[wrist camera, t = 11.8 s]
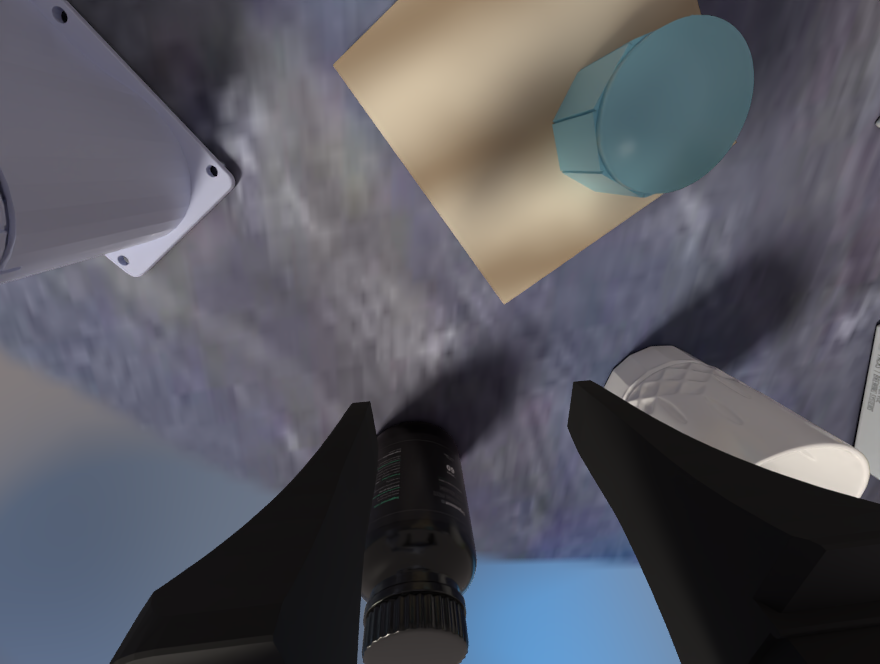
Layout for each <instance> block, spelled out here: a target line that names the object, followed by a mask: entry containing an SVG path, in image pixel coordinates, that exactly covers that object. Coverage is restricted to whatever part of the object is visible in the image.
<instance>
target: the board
mask: <svg viewBox="0 0 880 664" xmlns="http://www.w3.org/2000/svg"><path fill="white" fill-rule="evenodd" d="M691 15H701V12H700V9H699V5H698V1H697V0H398V1H397V2H396V3H395V4H394V5H393V6H392V7H391V8H390V9H389V10H388V11H387V12H386V13H385V14H384V15H383V16H382V17H381V18H380V19H379V20H378V21H377V22H376V23H375V24H374V25H373V26H372V27H371V28H370V29H369V30H368V31H367V32H366V33H365V34H364V35H363V36H362V37H361V38H360V39H358V40H357V41H356V42H355V43H354V44H353V45H352V46H351V47H350V48H349V49H348V50H347V51H346V52H345V53H344V54H343V55H342V56H341V57H340V58H339V59H338V60H337V61H336V62H335V63H334V64H333V66H334V68H335V69H336V70H337V72H338V73H339V74H340V76H341V77H342V79H343V80H344V81H345V83H346V84H347V86H348V87H349V88H350V90H351V91H352V93H353V94H354V95H355V97H356V98H357V100H358V101H359V102H360V104H361V105H362V107H363V108H364V109H365V111H366V112H367V114H368V115H369V116H370V118H371V119H372V121H373V122H374V123H375V125H376V126H377V128H378V129H379V130H380V132H381V133H382V135H383V136H384V137H385V139H386V140H387V142H388V143H389V144H390V146H391V147H392V149H393V150H394V151H395V153H396V154H397V156H398V157H399V158H400V160H401V161H402V163H403V164H404V165H405V167H406V168H407V169H408V171H409V172H410V174H411V175H412V176H413V178H414V179H415V181H416V182H417V183H418V185H419V186H420V188H421V189H422V190H423V192H424V193H425V195H426V196H427V197H428V199H429V200H430V202H431V203H432V204H433V206H434V207H435V209H436V210H437V211H438V213H439V214H440V216H441V217H442V218H443V220H444V221H445V223H446V224H447V225H448V227H449V228H450V230H451V231H452V232H453V234H454V235H455V237H456V238H457V239H458V241H459V242H460V244H461V245H462V246H463V248H464V249H465V251H466V252H467V253H468V255H469V256H470V258H471V259H472V260H473V262H474V263H475V265H476V266H477V267H478V269H479V270H480V271H481V273H482V274H483V276H484V277H485V278H486V280H487V281H488V283H489V284H490V285H491V287H492V288H493V290H494V291H495V292H496V294H497V295H498V297H499V298H500V299H501V301H502V302H503V304H506V303H507V302H509V301H510V300H512V299H513V298H514V297H516V296H517V295H519V294H520V293H522V292H523V291H524V290H526V289H527V288H529V287H530V286H532V285H533V284H534V283H536V282H537V281H539V280H540V279H542V278H543V277H545V276H546V275H547V274H549V273H550V272H552V271H553V270H555V269H556V268H557V267H559V266H560V265H562V264H563V263H565V262H566V261H568V260H569V259H570V258H572V257H573V256H575V255H576V254H578V253H579V252H580V251H582V250H583V249H585V248H586V247H588V246H589V245H590V244H592V243H593V242H595V241H596V240H598V239H599V238H601V237H602V236H603V235H605V234H606V233H608V232H609V231H611V230H612V229H613V228H615V227H616V226H618V225H619V224H621V223H622V222H624V221H625V220H626V219H628V218H629V217H631V216H632V215H634V214H635V213H636V212H638V211H639V210H641V209H642V208H644V207H645V206H646V205H648V204H649V203H651V202H652V201H654V200H655V199H657V198H658V197H659V196H661V195H662V194H664V193H659V194H653V195H651V196H648V197H646V198H640V197H633V196H625V195H618V194H610V193H602V192H595V191H593V190H591V189H589V188H588V187H586V186H584V185H582V184H581V183H579V182H577V181H575V180H574V179H572V178H570V177H568V176H567V175H565V174H563V173H562V171H560V166H559V161H558V155H557V150H556V144H555V138H554V133H553V127H552V124H555V123H554V122H553V120H554V118H555V116H556V114H557V112H558V110H559V108H560V106H561V104H562V102H563V100H564V98H565V96H566V94H567V92H568V90H569V88H570V86H571V84H572V82H573V81H574V79H575V77H576V75H577V73H578V72H579V71H580V70H581V69H583V68H584V67H586V66H588V65H590V64H591V63H593V62H595V61H597V60H598V59H600V58H602V57H604V56H605V55H607V54H609V53H611V52H612V51H614V50H616V49H617V48H619V47H621V46H623V45H624V44H626V43H628V42H630V41H631V40H633V39H636V38H638V37H641V36H643V35H645V34H648V33H650V32H653V31H655V30H657V29H659V28H661V27H663V26H665V25H667V24H669V23H671V22H673V21H675V20H678V19H681V18H683V17H687V16H691ZM735 143H737V142H736V140H735V142H734V143H733V145H734V144H735ZM733 145H732V146H733Z"/></svg>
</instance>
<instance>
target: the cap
mask: <svg viewBox="0 0 880 664" xmlns="http://www.w3.org/2000/svg"><path fill="white" fill-rule="evenodd" d="M753 88H754V68H753V60H752V56H751V53H750V50H749V47H748V45H747V43H746V41H745V39H744V38H743V36H742V35H741V33H740V32H739V31H738V30H737V29H736V28H735V27H734V26H733V25H731V24H730V23H729V22H727V21H726V20H723V19H721V18H718V17H715V16H710V15H691V16H687V17H683V18H681V19H678V20H675V21H673V22H671V23H669V24H667V25H665V26H663V27H661V28H659V29H657V30H655V31H653V32H650V33H648V34H645V35H643V36H641V37H638V38H636V39H633V40H631V41H630V42H628V43H626V44H624V45H623V46H621V47H619V48H617V49H616V50H614V51H612V52H611V53H609V54H607V55H605V56H604V57H602V58H600V59H598V60H597V61H595V62H593V63H591V64H590V65H588V66H586V67H584V68H583V69H581V70H580V71H579V72H578V73H577V75H576V77H575V79H574V81H573V82H572V84H571V86H570V88H569V90H568V92H567V94H566V96H565V98H564V100H563V102H562V104H561V106H560V108H559V110H558V112H557V114H556V116H555V118H554V120H553V122H554V123H555V124H552V127H553V133H554V138H555V144H556V150H557V155H558V161H559V166H560V171H562V173H563V174H565V175H567V176H568V177H570V178H572V179H574V180H575V181H577V182H579V183H581V184H582V185H584V186H586V187H588V188H589V189H591V190H593V191H595V192H602V193H610V194H618V195H625V196H633V197H640V198H646V197H648V196H651V195H653V194H659V193H668V192H673V191H676V190H679V189H682V188H684V187H686V186H689V185H690V184H692V183H694V182H696V181H697V180H699V179H700V178H702V177H703V176H704V175H706V174H707V173H708V172H709V171H710V170H711V169H713V168H714V167H715V166H716V165H717V164H718V163H719V162H720V160H721V159H722V158H723V157H724V156H725V155H726V153H727V152H728V151H729V149H730V148H731V146H732V145H733V143H734V142H735V140H736V139H737V137H738V135H739V133H740V131H741V129H742V127H743V125H744V122H745V120H746V118H747V115H748V111H749V108H750V105H751V100H752V96H753Z"/></svg>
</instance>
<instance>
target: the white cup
mask: <svg viewBox="0 0 880 664" xmlns="http://www.w3.org/2000/svg"><path fill="white" fill-rule="evenodd" d="M604 388H605V389H607V390H608V391H610V392H612V393H613V394H615V395H617V396H618V397H620V398H622V399H623V400H625V401H627V402H628V403H630V404H632V405H633V406H635V407H637V408H638V409H640V410H642V411H643V412H645V413H647V414H649V415H650V416H652V417H654V418H656V419H657V420H659V421H661V422H663V423H665V424H667V425H669V426H671V427H672V428H674V429H676V430H678V431H680V432H682V433H684V434H686V435H688V436H690V437H692V438H694V439H696V440H698V441H701V442H703V443H705V444H707V445H709V446H712V447H714V448H716V449H718V450H720V451H723V452H725V453H728V454H730V455H732V456H735V457H737V458H740V459H742V460H745V461H747V462H750V463H753V464H755V465H758V466H760V467H763V468H766V469H768V470H771V471H774V472H777V473H780V474H782V475H785V476H788V477H791V478H794V479H797V480H800V481H803V482H806V483H809V484H812V485H815V486H819V487H822V488H825V489H829V490H832V491H836V492H839V493H843V494H846V495H850V496H853V497H857V498H860V497H861V495H862V494H863V492H864V490H865V488H866V486H867V484H868V481H869V477H870V466H869V462H868V460H867V458H866V457H865V455H864V454H863V453H862V452H860V451H859V450H858V449H856V448H854V447H853V446H851V445H849V444H847V443H846V442H844V441H842V440H841V439H839V438H837V437H835V436H834V435H832V434H830V433H829V432H827V431H825V430H823V429H822V428H820V427H818V426H817V425H815V424H813V423H811V422H810V421H808V420H806V419H805V418H803V417H801V416H800V415H798V414H796V413H795V412H793V411H791V410H789V409H788V408H786V407H784V406H783V405H781V404H779V403H778V402H776V401H774V400H773V399H771V398H769V397H768V396H766V395H764V394H763V393H761V392H759V391H757V390H755V389H752V388H751V387H749V386H747V385H746V384H744V383H743V382H741V381H739V380H737V379H736V378H734V377H732V376H729V375H728V374H726V373H724V372H723V371H721V370H720V369H718V368H716V367H714V366H710V365H707V364H705V363H704V362H702V361H700V360H699V359H697V358H695V357H694V356H692V355H691V354H689V353H687V352H685V351H683V350H681V349H678V348H676V347H674V346H650V347H648V348H646V349H643V350H641V351H638V352H636V353H634V354H631V355H629V356H628V357H627V358H626V359H625V360H624V361H623V362H621V363H620V364H619V365H618V366H617V367H616V368H615V369H614V370H613V371H612V373H611V375H610V377H609V379H608V381H607V383H606V385H605V386H604Z"/></svg>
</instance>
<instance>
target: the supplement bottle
mask: <svg viewBox="0 0 880 664" xmlns="http://www.w3.org/2000/svg"><path fill="white" fill-rule="evenodd" d="M377 441H378V466H377V477H376V483H375V489H374V495H373V501H372V507H371V513H370V519H369V525H368V530H367V536H366V543H365V551H364V562H363V575H362V587H361V597H363V599H364V600H365V601H366V602H367V604H366V607H365V612H364V619H363V623H364V638H363V647H362V658H363V663H365V664H459V663H461V662H462V660H463V659H464V658H465V655H466V654H467V653H468V634H467V626H466V607H465V600H464V598H463V596H462V595H463V594H464V593H465V592H466V591H467V589H468V588H469V586H470V584H471V582H472V580H473V577H474V574H475V571H476V563H477V559H476V551H475V544H474V538H473V532H472V526H471V520H470V514H469V509H468V503H467V497H466V491H465V485H464V479H463V473H462V467H461V461H460V456H459V451H458V448H457V445H456V443H455V441H454V439H453V438H452V437H451V436H450V435H449V434H448V433H447V432H446V431H445V430H443V429H442V428H440V427H438V426H436V425H433V424H430V423H426V422H419V421H412V422H404V423H400V424H397V425H394V426H392V427H390V428H388V429H386V430H385V431H383V432H382V433H381V434H380V435H379V436H378V437H377Z"/></svg>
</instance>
